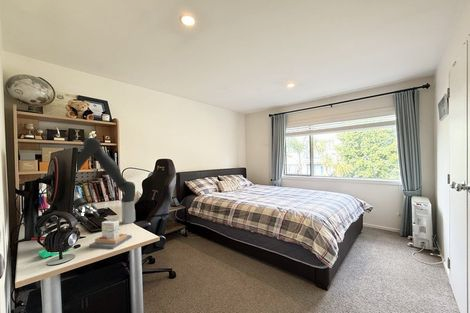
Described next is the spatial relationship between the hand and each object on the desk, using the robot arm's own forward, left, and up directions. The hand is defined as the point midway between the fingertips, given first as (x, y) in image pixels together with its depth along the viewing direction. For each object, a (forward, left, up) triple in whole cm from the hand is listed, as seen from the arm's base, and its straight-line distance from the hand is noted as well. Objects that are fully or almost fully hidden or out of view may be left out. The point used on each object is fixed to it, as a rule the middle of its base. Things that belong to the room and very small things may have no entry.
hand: (92, 218), depth 131 cm
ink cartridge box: (+1, +14, -13) cm, 19 cm away
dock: (+1, +14, -14) cm, 20 cm away
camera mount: (+18, -7, -14) cm, 24 cm away
